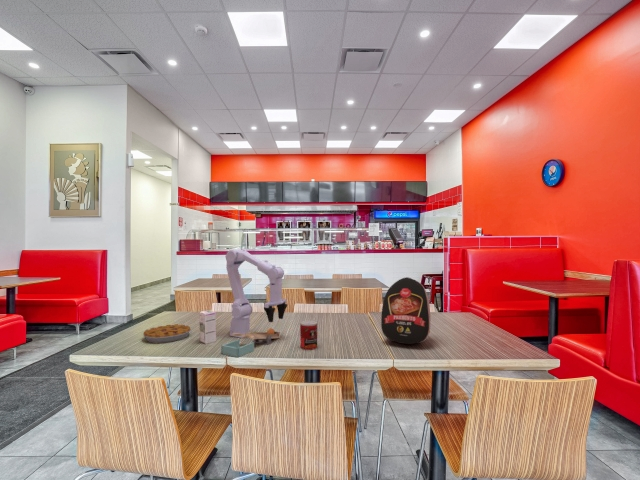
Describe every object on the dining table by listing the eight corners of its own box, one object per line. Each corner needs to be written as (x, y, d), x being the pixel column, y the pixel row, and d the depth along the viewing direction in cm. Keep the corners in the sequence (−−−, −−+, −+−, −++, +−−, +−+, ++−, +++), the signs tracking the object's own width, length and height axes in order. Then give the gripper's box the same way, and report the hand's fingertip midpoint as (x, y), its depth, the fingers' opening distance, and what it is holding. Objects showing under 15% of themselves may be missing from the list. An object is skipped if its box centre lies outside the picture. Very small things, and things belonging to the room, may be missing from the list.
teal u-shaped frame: (221, 353, 137) (221, 345, 137) (238, 347, 145) (238, 339, 145) (237, 357, 132) (237, 348, 132) (254, 350, 140) (254, 342, 140)
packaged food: (379, 346, 144) (378, 279, 145) (385, 334, 163) (384, 275, 163) (430, 351, 137) (429, 280, 137) (431, 338, 155) (430, 276, 156)
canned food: (304, 350, 139) (304, 325, 139) (297, 345, 146) (297, 321, 146) (320, 348, 143) (320, 323, 143) (312, 343, 150) (312, 319, 150)
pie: (149, 347, 147) (149, 336, 147) (138, 337, 163) (138, 327, 163) (197, 338, 161) (197, 328, 161) (182, 329, 178) (182, 320, 178)
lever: (231, 334, 150) (232, 328, 151) (257, 334, 165) (258, 328, 166) (254, 339, 143) (255, 332, 144) (279, 338, 158) (279, 332, 158)
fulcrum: (252, 342, 153) (252, 334, 153) (258, 339, 156) (258, 332, 156) (267, 344, 148) (267, 337, 148) (272, 342, 151) (272, 335, 151)
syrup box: (216, 341, 154) (216, 311, 155) (204, 344, 150) (204, 313, 150) (210, 339, 158) (210, 309, 158) (199, 341, 154) (198, 311, 154)
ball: (265, 335, 156) (265, 328, 157) (270, 334, 159) (270, 327, 160) (271, 336, 155) (271, 329, 155) (275, 335, 158) (275, 328, 158)
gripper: (272, 295, 148) (272, 324, 148) (291, 291, 160) (291, 318, 160) (261, 293, 151) (260, 322, 151) (280, 289, 164) (280, 316, 164)
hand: (275, 320), depth 156 cm, fingers open, 7 cm apart
